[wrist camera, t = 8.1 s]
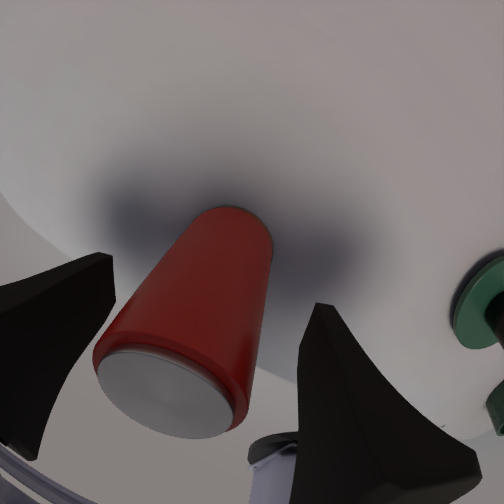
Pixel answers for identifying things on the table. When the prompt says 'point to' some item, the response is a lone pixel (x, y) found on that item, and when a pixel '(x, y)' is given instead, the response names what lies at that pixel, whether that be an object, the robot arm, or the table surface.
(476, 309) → the lid
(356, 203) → the table surface
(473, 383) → the table surface
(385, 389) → the robot arm
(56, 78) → the table surface
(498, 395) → the green pot
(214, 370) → the can
